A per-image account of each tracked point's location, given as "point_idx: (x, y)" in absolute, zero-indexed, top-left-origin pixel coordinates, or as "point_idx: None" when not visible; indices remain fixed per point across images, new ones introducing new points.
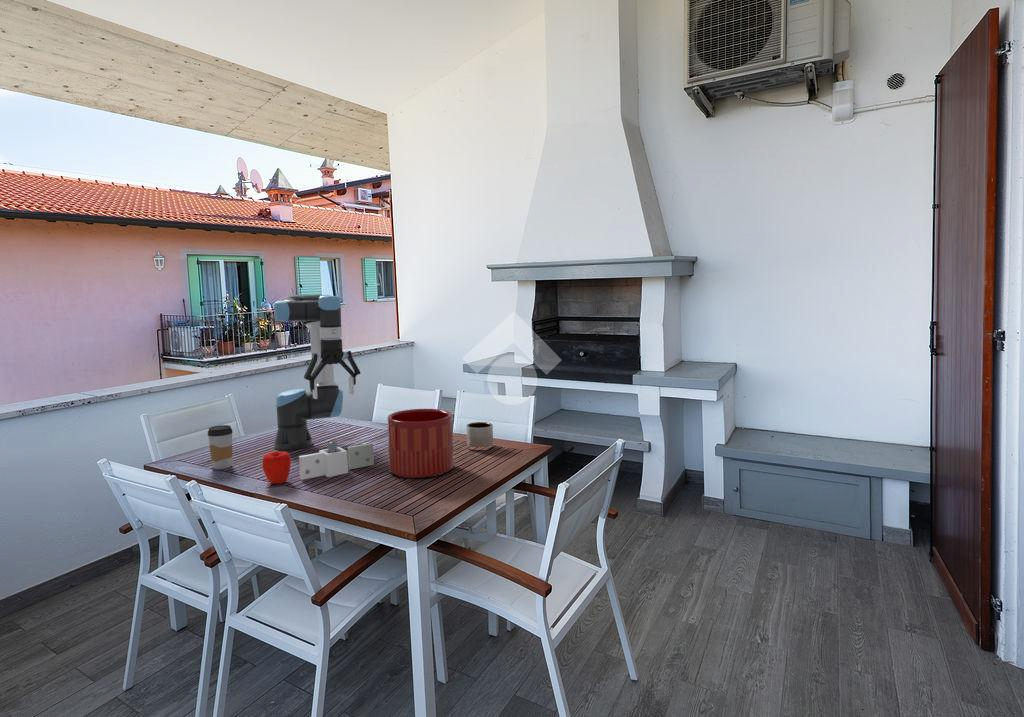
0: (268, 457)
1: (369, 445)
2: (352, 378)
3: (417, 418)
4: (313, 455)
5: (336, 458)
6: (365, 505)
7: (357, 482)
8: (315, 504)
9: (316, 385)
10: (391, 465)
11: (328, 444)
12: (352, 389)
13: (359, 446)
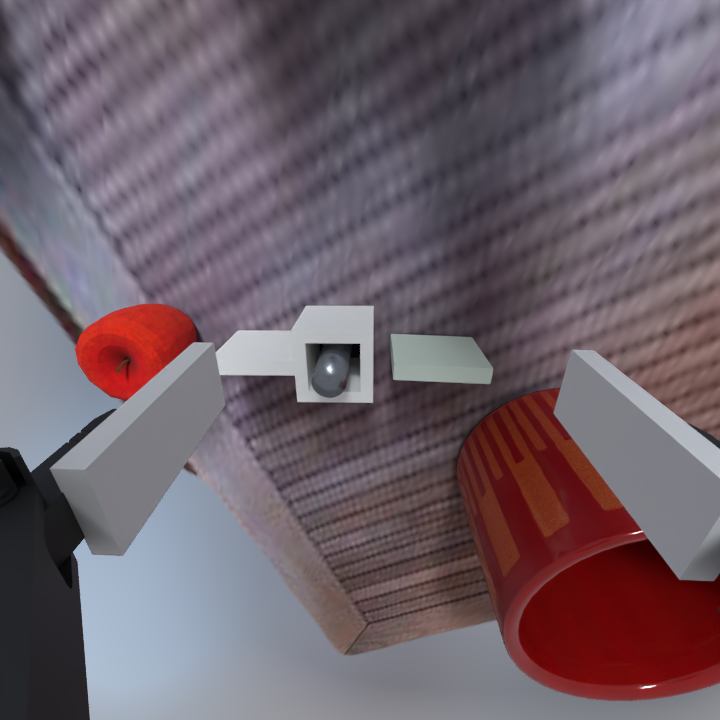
0: (93, 382)
1: (474, 381)
2: (682, 559)
3: None
4: (258, 374)
5: None
6: (321, 559)
7: (362, 448)
8: (239, 508)
9: (154, 501)
10: (461, 475)
11: (312, 383)
12: (584, 444)
13: (434, 381)
